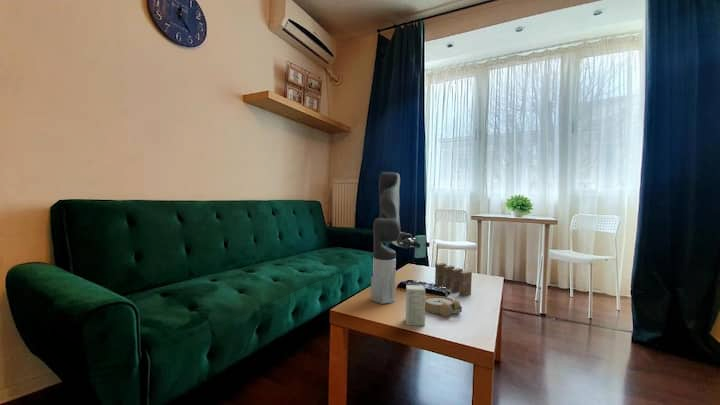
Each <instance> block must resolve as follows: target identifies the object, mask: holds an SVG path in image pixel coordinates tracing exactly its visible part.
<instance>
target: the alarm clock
mask: <svg viewBox="0 0 720 405" xmlns="http://www.w3.org/2000/svg"><path fill="white" fill-rule="evenodd" d="M425 311H426V312H430V313H433V314H439V315H440V316H442V317H445V318H448V317H449V316H451V314H460V313H462V312H463V307H462V305H461V303H460V301H459V300H457V299H453V298H451V297H448V296H442V295H441V296H440V295H434V296H433V295H430V296H427V297H426V296H425Z"/></svg>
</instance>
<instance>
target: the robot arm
mask: <svg viewBox="0 0 720 405" xmlns="http://www.w3.org/2000/svg"><path fill="white" fill-rule="evenodd" d="M378 177H379V178H378V192H379V193H378V194H379V197H378V200H379V217H376V218H375V219H374V221H373V225H372V226H373V227H372V230H373V232H372V234H373V253H372V256H373V257H372V258H373V259H372V276H371V280H370V300H371V301H372V302H376V303H378V304H381V305H384V304H392V303H394V302H395V300H396V268H397V267H396V266H397V253H396V252H397V251H396V250H394V249H392V248H390V247H387V246H386V245H384V244H392V245H395V246H397V247H400V248H404V249H409V248H415V247H416V248H420V243H417V242H415V237H413V235H412V234H411V233H407V232H403V231H401V222H400V221H401V220H400V207H401V203H400V202H401V200H400V189H401V188H400V186H401V177H400V174H399V173H398V172H391V171H381V173H380V174H379V176H378ZM429 247H430V242H429V241H427V239H426V248H429Z"/></svg>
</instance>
